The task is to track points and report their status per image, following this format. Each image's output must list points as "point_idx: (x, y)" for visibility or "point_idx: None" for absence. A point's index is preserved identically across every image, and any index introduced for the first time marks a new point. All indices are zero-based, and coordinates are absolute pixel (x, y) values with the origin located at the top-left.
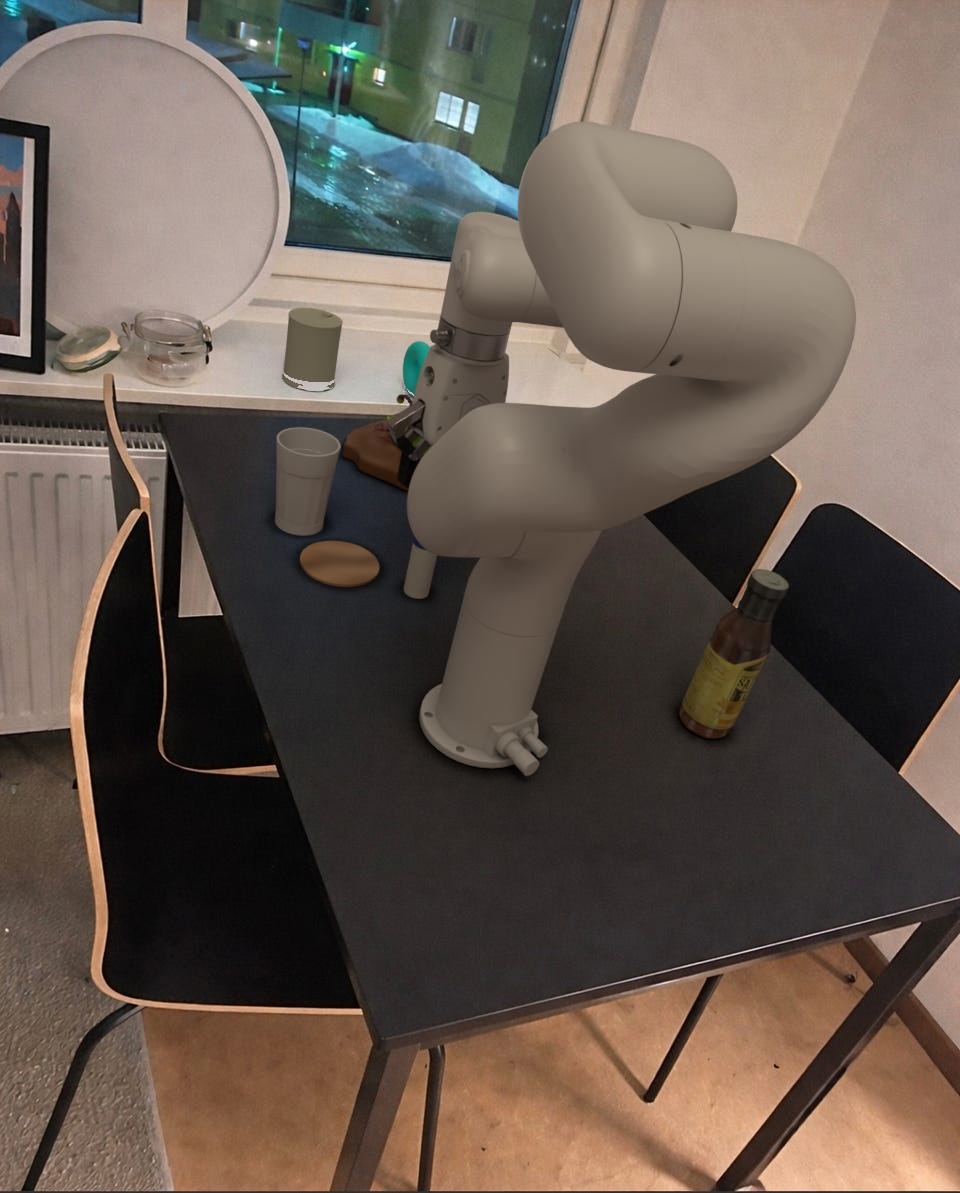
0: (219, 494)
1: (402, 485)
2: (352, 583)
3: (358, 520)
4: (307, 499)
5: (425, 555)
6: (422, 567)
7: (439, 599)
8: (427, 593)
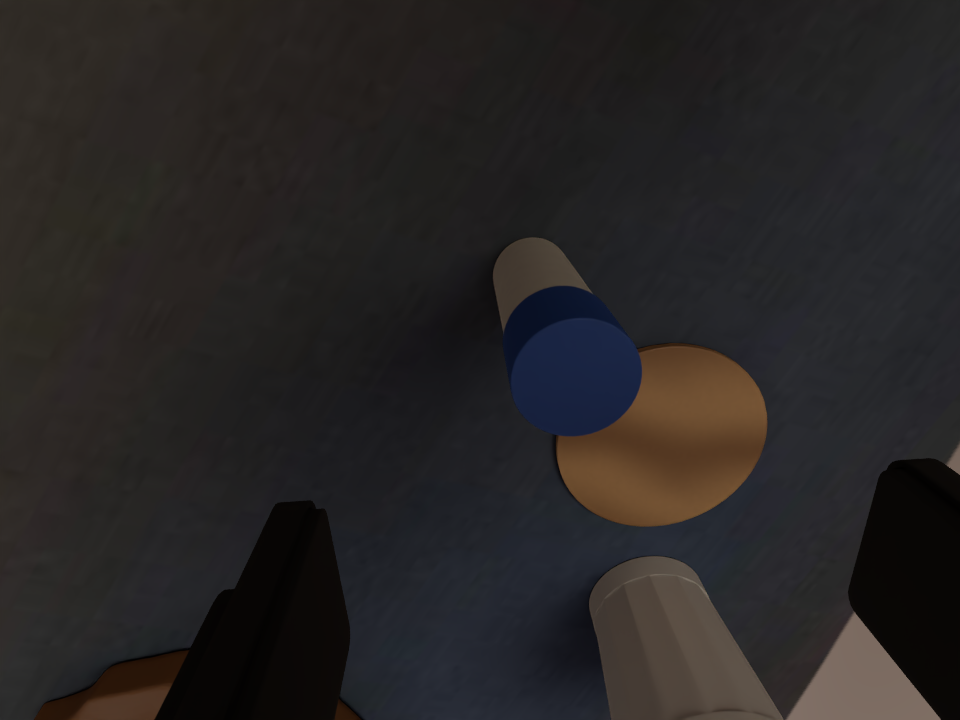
0: None
1: None
2: (692, 351)
3: (497, 584)
4: (716, 644)
5: (584, 287)
6: (574, 273)
7: (482, 217)
8: (516, 244)
